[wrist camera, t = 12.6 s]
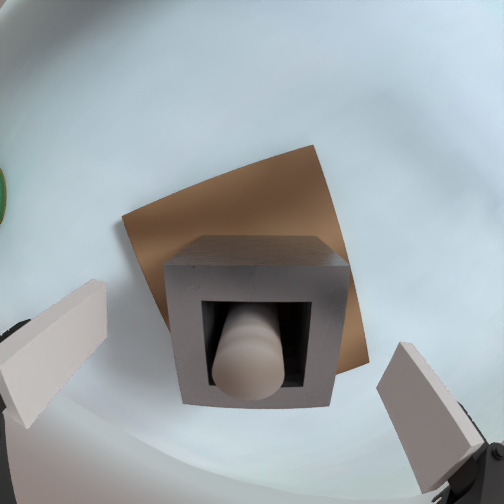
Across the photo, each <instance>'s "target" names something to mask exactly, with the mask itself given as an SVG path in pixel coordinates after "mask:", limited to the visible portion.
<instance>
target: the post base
mask: <svg viewBox="0 0 504 504" xmlns="http://www.w3.org/2000/svg"><path fill="white" fill-rule="evenodd" d="M122 219H123V222H124V225H125V228H126V230H127V233H128V236H129V239H130V241H131V244H132V247H133V249H134V252H135V254H136V257H137V259H138V262H139V264H140V267H141V269H142V272H143V274H144V276H145V279H146V281H147V283H148V286H149V288H150V290H151V293H152V295H153V297H154V299H155V302H156V304H157V306H158V308H159V310H160V312H161V315H162V317H163V319H164V321H165V323H166V325H167V327H168V329H169V331H170V333H171V330H170V322H169V315H168V306H167V297H166V287H165V277H164V265H163V264H165V263H166V262H167V261H169V260H170V259H171V258H172V257H174V256H175V255H176V254H178V253H179V252H180V251H182V250H183V249H184V248H185V247H187V246H188V245H189V244H191V243H192V242H193V241H195V240H196V239H197V238H199V237H200V236H201V235H298V236H317V237H318V238H320V239H321V240H322V241H323V242H324V243H325V244H327V245H328V246H329V247H330V248H331V249H332V250H333V251H335V252H336V253H337V254H338V255H339V256H340V257H341V258H342V259H344V260H345V261H346V262H347V263H348V264H349V260H348V256H347V252H346V248H345V244H344V241H343V237H342V233H341V230H340V226H339V223H338V219H337V216H336V212H335V209H334V206H333V202H332V199H331V196H330V193H329V190H328V186H327V183H326V180H325V177H324V174H323V171H322V168H321V165H320V162H319V160H318V157H317V154H316V151H315V148H314V146H313V145H310V146H307V147H303V148H300V149H297V150H293V151H290V152H287V153H284V154H280V155H277V156H274V157H271V158H268V159H265V160H262V161H259V162H256V163H253V164H250V165H247V166H244V167H241V168H238V169H236V170H233V171H230V172H227V173H225V174H222V175H219V176H216V177H214V178H211V179H209V180H206V181H203V182H201V183H198V184H196V185H193V186H191V187H188V188H186V189H183V190H181V191H178V192H176V193H173V194H171V195H169V196H166V197H164V198H162V199H159V200H157V201H155V202H152V203H150V204H148V205H146V206H143V207H141V208H139V209H137V210H134V211H132V212H130V213H128V214H126V215H124V216H122ZM349 265H350V264H349ZM226 311H227V317H226V320H225V324H224V328H223V331H222V335H221V338H220V342H219V345H218V349H217V353H216V356H215V360H214V363H213V367H212V377H213V380H214V382H215V384H216V385H217V387H218V388H219V389H220V390H221V391H222V392H224V393H225V394H226V395H228V396H230V397H232V398H235V399H239V400H245V401H255V400H260V399H264V398H266V397H269V396H271V395H272V394H274V393H275V392H276V391H277V390H278V389H279V388H280V387H281V385H282V383H283V381H284V374H285V373H284V364H283V354H282V345H281V336H280V327H279V320H290V318H291V302H238V301H226ZM367 363H369V357H368V351H367V345H366V339H365V333H364V328H363V323H362V318H361V313H360V308H359V303H358V298H357V294H356V289H355V285H354V280H353V276H352V272H351V268H350V277H349V287H348V296H347V305H346V313H345V320H344V328H343V335H342V341H341V347H340V353H339V359H338V365H337V370H336V375H337V374H340V373H343V372H345V371H348V370H351V369H354V368H357V367H359V366H362V365H364V364H367Z"/></svg>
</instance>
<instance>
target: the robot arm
mask: <svg viewBox="0 0 504 504" xmlns="http://www.w3.org/2000/svg"><path fill="white" fill-rule="evenodd" d="M107 337H108V332H107V283H104V282H101V281H97V280H94V279H92V280H90V281H89V282H87V283H86V284H84V285H82V286H81V287H79V288H78V289H76V290H75V291H73V292H72V293H70V294H69V295H67V296H66V297H64V298H63V299H61V300H60V301H58V302H57V303H55V304H54V305H52V306H51V307H49V308H48V309H47V310H45V311H44V312H42V313H41V314H39V315H38V316H37V317H35V318H34V319H32V320H31V319H28V320H25V321H22V322H19V323H17V324H16V325H14V326H13V327H11V328H10V329H9V331H8V330H7V331H6V332H4V333H3V334H2V336H1V335H0V504H17V503H16V499H15V495H14V490H13V486H12V481H11V475H10V469H9V463H8V456H7V448H6V436H5V421H4V415H3V413H2V412H3V410H4V409H5V408H7V410H8V412H9V414H10V416H11V417H12V419H13V420H15V421H16V422H17V423H19V424H20V425H21V426H23V427H24V428H25V429H27V430H28V429H29V427H30V426H31V425H32V423H33V422H34V421H35V420H36V418H37V417H38V416H39V415H40V414H41V412H42V411H43V410H44V409H45V407H46V406H47V405H48V404H49V403H50V401H51V400H52V399H53V398H54V397H55V395H56V394H57V393H58V392H59V391H60V390H61V388H62V387H63V386H64V385H65V384H66V383H67V381H68V380H69V379H70V378H71V377H72V376H73V374H74V373H75V372H76V371H77V370H78V369H79V368H80V367H81V365H82V364H83V363H84V362H85V361H86V360H87V359H88V358H89V356H90V355H91V354H92V353H93V352H94V351H95V350H96V349H97V348H98V346H99V345H100V344H101V343H102V342H103V341H104V340H105V339H106V338H107ZM376 389H377V391H378V393H379V395H380V397H381V399H382V401H383V404H384V406H385V408H386V410H387V412H388V414H389V416H390V419H391V421H392V423H393V425H394V428H395V430H396V432H397V434H398V437H399V439H400V441H401V443H402V446H403V448H404V450H405V453H406V455H407V457H408V460H409V462H410V465H411V467H412V470H413V472H414V474H415V477H416V479H417V482H418V484H419V487H420V490H421V492H422V494H423V493H427V492H430V491H434V490H437V489H438V488H439V487H440V486H441V485H443V484H444V483H445V482H446V481H447V480H448V483H449V486H448V487H446V488H445V489H444V490H443V491H442V492H440V493H439V494H438V495H437V496H436V497H434V498H433V500H432V502H435V501H436V500H437V499H439V498H440V497H442V498H441V500H439V501H438V502H437V504H504V446H503V445H501V444H500V443H495V442H494V443H491V444H490V445H489V444H488V442H487V441H486V439H485V438H484V436H483V435H482V433H481V432H480V430H479V429H478V427H477V426H476V424H475V423H474V421H472V419H471V417H470V416H469V415H467V414H468V413H467V411H466V410H465V409H464V407H463V406H462V405H461V404H460V403H459V402H458V401H456V400H455V398H454V397H453V395H452V394H451V393H450V391H449V390H448V389H447V387H446V386H445V385H444V383H443V382H442V381H441V379H440V378H439V377H438V375H437V374H436V373H435V372H434V370H433V369H432V368H431V366H430V365H429V364H428V363H427V361H426V360H425V359H424V357H423V356H422V355H421V354H420V352H419V351H418V350H417V349H416V347H415V346H414V345H413V344H412V343H405V342H399V344H398V346H397V348H396V351H395V353H394V355H393V357H392V359H391V361H390V363H389V365H388V367H387V369H386V370H385V372H384V374H383V376H382V378H381V380H380V382H379V383H378V385H377V387H376Z"/></svg>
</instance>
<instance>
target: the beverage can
mask: <svg viewBox="0 0 504 504" xmlns="http://www.w3.org/2000/svg"><path fill="white" fill-rule="evenodd" d="M5 207H6V185H5V179H4V175H3V172H2V170H1V169H0V224H1V222H2V220H3V217H4V213H5Z"/></svg>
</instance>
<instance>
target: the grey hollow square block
mask: <svg viewBox="0 0 504 504" xmlns="http://www.w3.org/2000/svg"><path fill="white" fill-rule="evenodd" d="M163 265H164V277H165V287H166V297H167V306H168V315H169V322H170V330H171V337H172V344H173V351H174V357H175V363H176V369H177V375H178V380H179V386H180V391H181V396H182V401H183V404H189V405H199V406H210V407H224V408H244V409H291V408H312V407H326V406H329V405H330V400H331V395H332V391H333V386H334V381H335V376H336V370H337V365H338V359H339V353H340V347H341V341H342V335H343V328H344V320H345V313H346V305H347V296H348V287H349V277H350V265H349V264H348V263H347V262H346V261H345V260H344V259H342V258H341V257H340V256H339V255H338V254H337V253H336V252H335V251H333V250H332V249H331V248H330V247H329V246H328V245H327V244H325V243H324V242H323V241H322V240H321V239H320V238H318V237H317V236H298V235H201V236H200V237H199V238H197V239H196V240H195V241H193V242H192V243H191V244H189V245H188V246H187V247H185V248H184V249H183V250H182V251H180V252H179V253H178V254H176V255H175V256H174V257H172V258H171V259H170V260H169V261H167V262H166V263H165V264H163ZM226 301H238V302H291V318H290V320H279V327H280V336H281V345H282V354H283V364H284V373H285V374H284V381H283V383H282V385H281V387H280V388H279V389H278V390H277V391H276V392H275V393H274V394H272V395H271V396H269V397H266V398H264V399H260V400H255V401H245V400H239V399H235V398H232V397H230V396H228V395H226V394H225V393H224V392H222V391H221V390H220V389H219V388H218V387H217V385H216V384H215V382H214V380H213V377H212V367H213V363H214V360H215V356H216V353H217V349H218V345H219V342H220V338H221V335H222V331H223V328H224V324H225V320H226V317H227V311H226Z"/></svg>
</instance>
